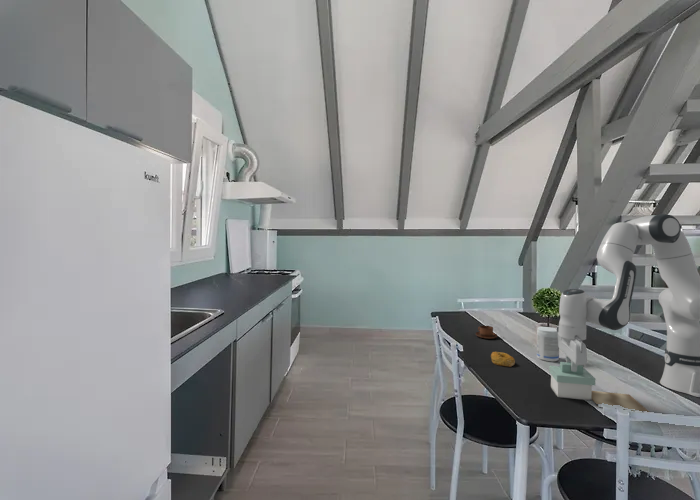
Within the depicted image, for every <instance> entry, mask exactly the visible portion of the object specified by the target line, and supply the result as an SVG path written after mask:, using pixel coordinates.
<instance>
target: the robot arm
mask: <svg viewBox="0 0 700 500" xmlns="http://www.w3.org/2000/svg"><path fill="white" fill-rule="evenodd" d="M645 245H646V246H647V245H651V247H652V248H653V255H654V257H655V261H656V264H657V268H658V273H659V275H660V278H661V280H662V281H664V283H665V284H666V286H667V288H665V289H664V290H663V289H662V291H661V292H660V293H659V295H658V303H659V304H660V306H661V309H662V312H663V316H664V321H665V325H666V348H665V349H664V363H665V364H664V368H663V373H662V376H661V378H660V380H659V383H660V384H661V385H662V386H664V387H666V388H667V389H671V390H673V391H676V392H680V393H684V394H687V395H691V396H693V397H697V398H700V274H699V270H698V268H697V265H696V262H695V258H694V253H693V251H692V248H691V246H690V243H689V241H688V239H687V237H686V236H685V233H684V232H683V231H682V228H681V223H680V222H679V220H678V219H677V218H676V217H675V216H673V215H672V214H665V213H661V214H660V213H659V214H656V215H655V214H654V215H644V216H641V217H636V218H633V219H628V220H624V221H623V222H622V221H620V222H617V223H614V224H612V225H611V226H610V228H609V229H608V230H607V231H606V233H605V235H604V236H603V238H602V240H601V243H600V245H599V247H598V250H597V252H596V261H597V263H598V264H599V265H600V267H602V268H603V269H605V270H606V271H608V272H609V273H612V274H613V275H614V276H615V278H616V282H615V286H614V290H613V294H612V298H611V299H609V300H607V299H601V298H596V297H593V296H591V295H589V294H587V293H586V292H585V290H583V289H579V288H569V289H566V290H564V291H562V292H561V295H560V298H559V307H558V309H559V310H558V312H559V317H560V318H559V320H558V321H559V322H558V325H556V331H557V332H558V346H559V351H561V352H562V353H563V354H564V356H565V357H564V358H565V362H569V363H571V365H570V370H571V371H573V372H576V371H577V366H578V365H583V366H586V365H587V364H588V355H587V354H588V352H587V346H586V343H584V342H583V341H585V340H587V323H590V324H593V325H597V326H601V327H604V328H606V329H609V330H613V331H618V330H620V329H623V328H624V327H626V326H627V325H628V324H629V323H630V319H631V304H632V299H633V294H634V288H635V286H636V285H635V284H636V278H637V266H636V265H635V264H634V263H633V257H634V254H635V251H636V249H637V248H636V247H637V246H645Z"/></svg>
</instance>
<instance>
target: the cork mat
mask: <svg viewBox="0 0 700 500" xmlns="http://www.w3.org/2000/svg"><path fill="white" fill-rule="evenodd" d="M591 401H593V403H596V404H602V403H604V404H608V405H612V406H613V405H620V406H622V407H624V408H628V409H635V410H639V411H647V412H650V410H649V409H647V408H646V407H644V405H642V403H640V402H639V401H638V400H637V399H635V398H634V397H633V396H632V395H631V394H629V393H619V392H608V391H597V390H592V395H591ZM596 404H595V405H596Z"/></svg>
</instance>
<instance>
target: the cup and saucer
mask: <svg viewBox="0 0 700 500" xmlns="http://www.w3.org/2000/svg"><path fill="white" fill-rule="evenodd" d="M475 336H477V337H478V338H480V339H488V340H493V339H496V338H498V334H497V333H495V332H494V327H493V326H489V325H480V326H478V327H477V331H476V332H475Z"/></svg>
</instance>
